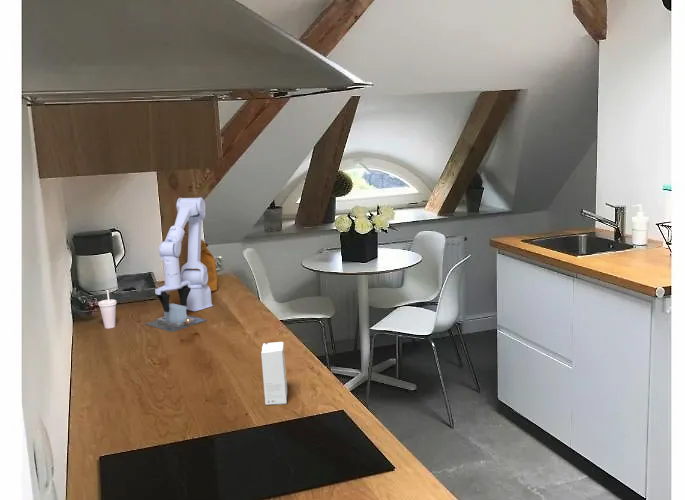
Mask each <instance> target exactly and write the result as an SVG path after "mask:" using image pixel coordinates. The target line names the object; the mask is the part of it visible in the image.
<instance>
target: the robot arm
mask: <svg viewBox="0 0 685 500" xmlns="http://www.w3.org/2000/svg"><path fill="white" fill-rule="evenodd" d="M175 206H176V211H177V214H176V218H175V221H174V225H171V226H170V228H169V229H168V232H167V234H166V237H165V240H164V241H162V242H161V243H160V244H159V246H158V254H159V256H160V261H161V262H162V264H163V265H162V266H163V276H164V279H163V280H164V285H162V286H159V287H158V288H155V289H154V292H155V296H156V297H157V299H158V300H159V302H160V304H161V306H162V308H163V313H164V312H169V304H170V297H171V295H170V294H169V292H172V291H177V292H178V297H179V305H182V306H186V311H191V312H197V311H201V310H205V309H207V308H211V307H213V306H214V304H213V303H212V302H213V301H212V291H211V290H210V287H209V286H208V285H207V282H208V273H207V267H206V266H205V265H204V264H202V263H201V262H200V255H201V239H202V221H203V220H205V219H206V203H205V200H204V198H203V197H201V196H200V197H179V198H178V199H177V201H176V205H175ZM187 222H188V235H187V236H188V237H187V238H188V239H187V240H188V241H187V242H188V243H187V261H186V263H184V264H183V265H182V266H181V268H180V260H179V259H180V258H179V257H180V256H181V253H182V252H181V251H182V242H183V238H184V235H185V234H186V233H185V232H186V231H185V230H184V228H185V226H186V224H187ZM180 269H181V270H180ZM193 269H200V270H193Z"/></svg>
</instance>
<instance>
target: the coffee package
mask: <svg viewBox="0 0 685 500" xmlns="http://www.w3.org/2000/svg"><path fill="white" fill-rule="evenodd" d="M208 247H209V244H208V243H206V242H205V241H204V239H202V238H201V255H200V262H201V263H202V264H204V265H205V266H206V267H207V273H208V282H207V285H208V286H209V287H210V290H211V292H215V291H218V274H217V273H218V272H217V264H216V259H215V257H214V256H213V254H212V253H211V252H210V250H209V249H208ZM192 270H200V269H192Z"/></svg>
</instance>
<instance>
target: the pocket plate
mask: <svg viewBox="0 0 685 500" xmlns="http://www.w3.org/2000/svg"><path fill="white" fill-rule="evenodd" d="M186 315H187V318H186V320H185V321H182V322H179V323H177V322H173V321H169V320H165V317H164V316H161V317H158V318H157V319H156V320H152V321H148V322H146V323H145V326H149V327H153V328H156V329H160V330H164V331H165V332H166V331H167V332H171V333H174V332H176V331H179V330H183V329H185V328H190V327H192V326H195V325H199V324H202V323H204V322H208V319H206V318H201V317H197V316H194V315H189V314H186Z"/></svg>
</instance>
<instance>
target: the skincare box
mask: <svg viewBox="0 0 685 500" xmlns="http://www.w3.org/2000/svg"><path fill="white" fill-rule="evenodd" d="M260 355H261V367H262V380H263V391H264V392H263V393H264V403H265V404H264V405H265V406H269V405H287V397H288V383H287V380H288V379H287V372H286V358H285V357H286V356H285V343H284V341H278V342H277V341H276V342H265V343H262V347H261V352H260Z"/></svg>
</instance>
